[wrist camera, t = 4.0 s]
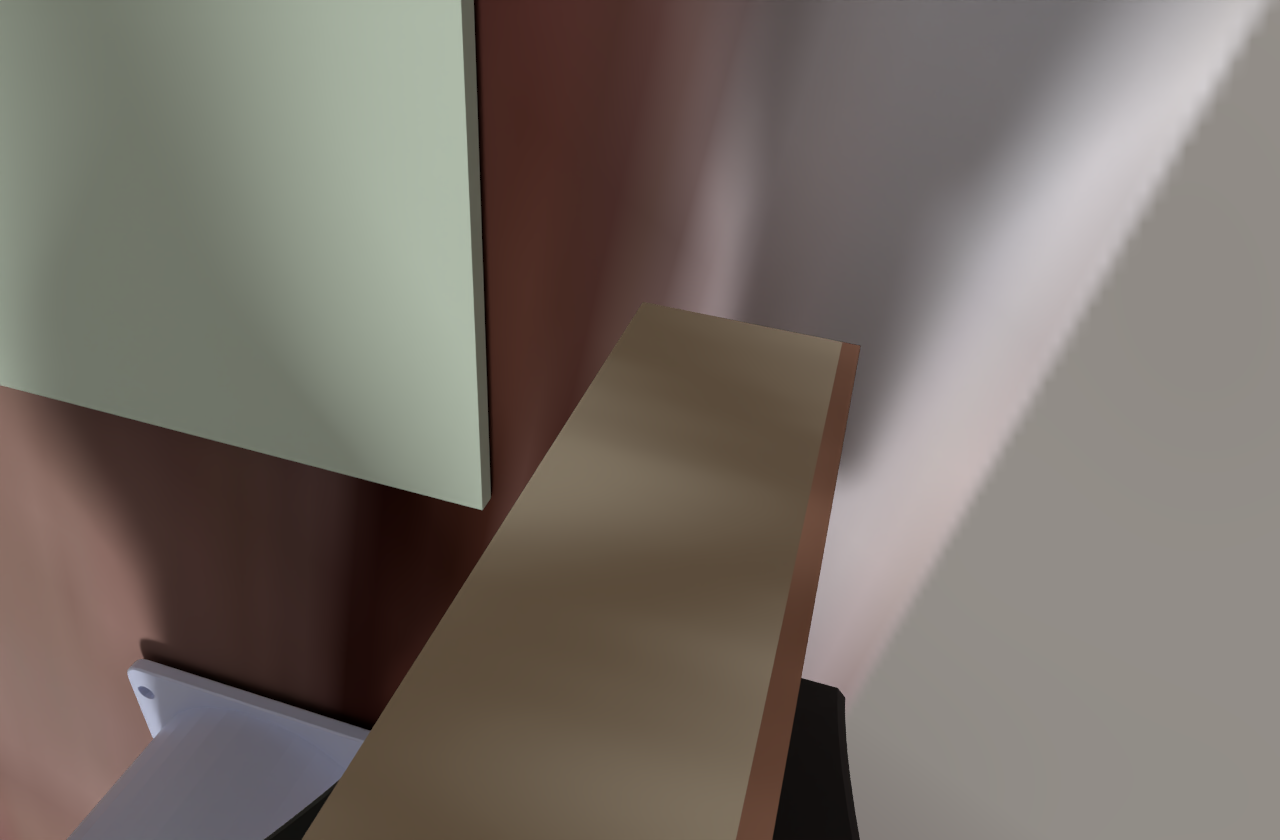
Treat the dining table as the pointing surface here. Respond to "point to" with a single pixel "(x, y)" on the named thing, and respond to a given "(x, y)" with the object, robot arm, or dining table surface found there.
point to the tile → (629, 610)
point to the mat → (252, 226)
